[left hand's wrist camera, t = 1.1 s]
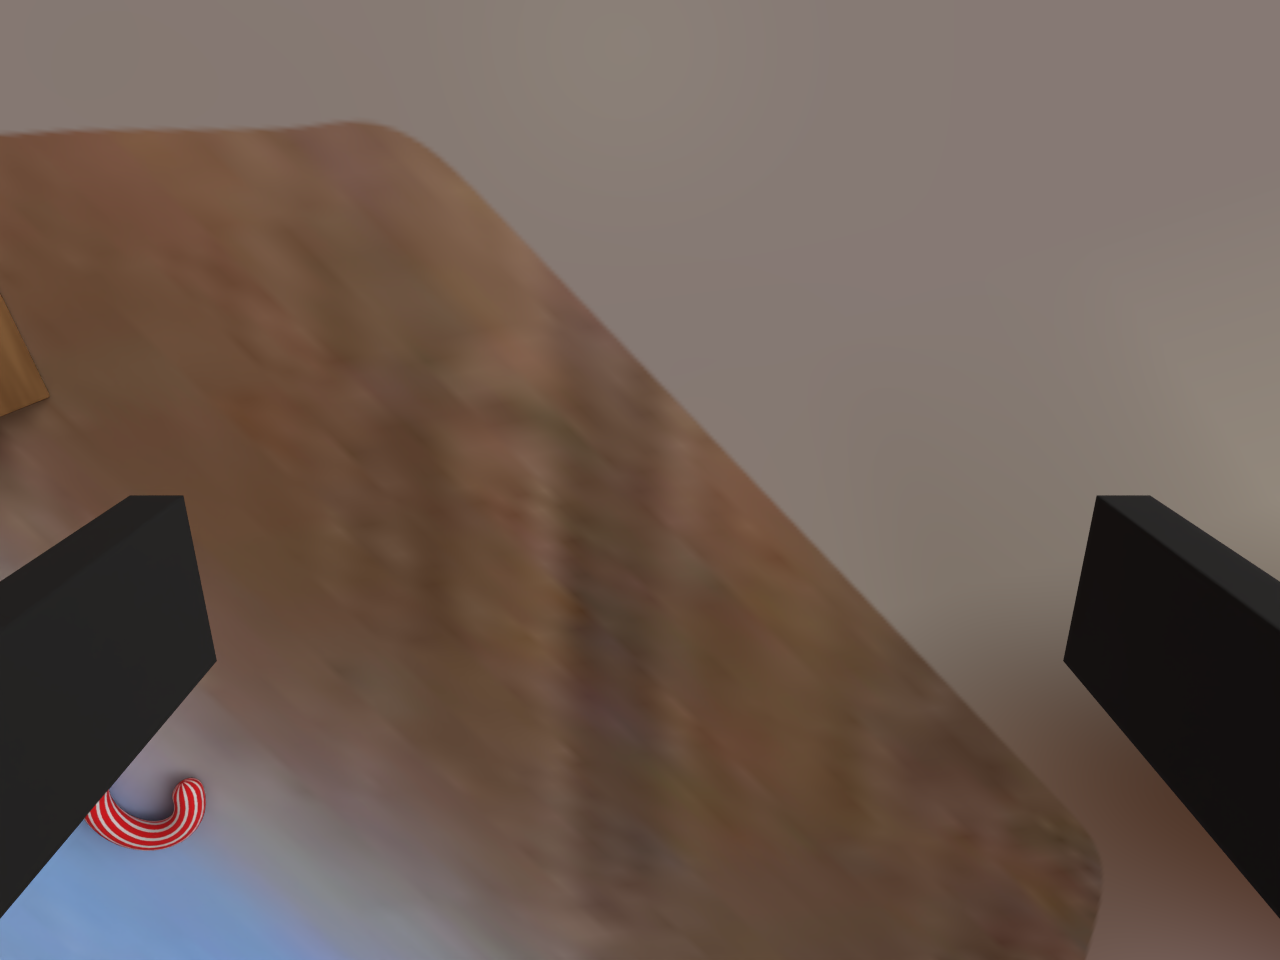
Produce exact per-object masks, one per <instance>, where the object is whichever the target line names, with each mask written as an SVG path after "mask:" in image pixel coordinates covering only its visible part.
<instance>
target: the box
mask: <svg viewBox="0 0 1280 960" xmlns="http://www.w3.org/2000/svg"><path fill="white" fill-rule="evenodd" d="M48 397H50V395H49V393H48V391H47V389H46V386H45V384H44V382H43V380H42V378H41V376H40V374H39V372H38V370H37V368H36V366H35V364H34V362H33V360H32V358H31V356H30V354H29V351H28V349H27V347H26V345H25V343H24V341H23V339H22V337H21V335H20V333H19V331H18V329H17V327H16V325H15V323H14V321H13V319H12V317H11V314H10V312H9V310H8V308H7V306H6V304H5V302H4V300H3V298H2V296H1V294H0V417H1V416H4V415H6V414H9V413H11V412H14V411H16V410H19V409H21V408H24V407H26V406H29V405H31V404H34V403H36V402H39V401H41V400H43V399H46V398H48Z"/></svg>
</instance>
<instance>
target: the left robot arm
mask: <svg viewBox="0 0 1280 960" xmlns="http://www.w3.org/2000/svg"><path fill="white" fill-rule="evenodd" d="M216 661H217V660H216V655H215V650H214V645H213V640H212V635H211V630H210V625H209V621H208V616H207V611H206V606H205V601H204V596H203V591H202V586H201V581H200V576H199V571H198V566H197V561H196V556H195V551H194V546H193V541H192V536H191V531H190V526H189V522H188V517H187V512H186V507H185V502H184V497H183V496H129V497H127V498H126V499H124V500H123V501H121V502H119V503H118V504H116V505H115V506H113V507H112V508H110V509H109V510H107V511H106V512H104V513H103V514H101V515H100V516H98V517H97V518H95V519H94V520H92V521H91V522H89V523H88V524H86V525H85V526H83V527H82V528H80V529H79V530H77V531H76V532H74V533H73V534H71V535H70V536H68V537H67V538H65V539H64V540H62V541H61V542H59V543H58V544H56V545H55V546H53V547H52V548H50V549H49V550H47V551H46V552H44V553H43V554H41V555H40V556H38V557H37V558H35V559H34V560H32V561H31V562H29V563H28V564H26V565H25V566H23V567H22V568H20V569H19V570H17V571H16V572H14V573H13V574H11V575H10V576H8V577H7V578H5V579H4V580H2V581H1V582H0V918H1V917H2V916H3V915H4V913H5V912H6V911H7V910H8V909H9V907H10V906H11V905H12V904H13V903H14V902H15V900H16V899H17V898H18V897H19V896H20V894H21V893H22V892H23V891H24V890H25V888H26V887H27V886H28V885H29V884H30V882H31V881H32V880H33V879H34V878H35V877H36V875H37V874H38V873H39V872H40V871H41V869H42V868H43V867H44V866H45V865H46V863H47V862H48V861H49V860H50V859H51V857H52V856H53V855H54V854H55V853H56V852H57V850H58V849H59V848H60V847H61V846H62V844H63V843H64V842H65V841H66V840H67V838H68V837H69V836H70V835H71V834H72V832H73V831H74V830H75V829H76V828H77V827H78V825H79V824H80V823H81V822H82V821H83V819H84V818H85V817H86V816H87V815H88V813H89V812H90V811H91V810H92V809H93V807H94V806H95V805H96V804H97V803H98V802H99V800H100V799H101V798H102V797H103V796H104V794H105V793H106V792H107V791H108V790H109V788H110V787H111V786H112V785H113V784H114V782H115V781H116V780H117V779H118V778H119V777H120V775H121V774H122V773H123V772H124V771H125V769H126V768H127V767H128V766H129V765H130V763H131V762H132V761H133V760H134V759H135V757H136V756H137V755H138V754H139V753H140V752H141V750H142V749H143V748H144V747H145V746H146V744H147V743H148V742H149V741H150V740H151V738H152V737H153V736H154V735H155V734H156V732H157V731H158V730H159V729H160V728H161V727H162V725H163V724H164V723H165V722H166V721H167V719H168V718H169V717H170V716H171V715H172V713H173V712H174V711H175V710H176V709H177V707H178V706H179V705H180V704H181V703H182V702H183V700H184V699H185V698H186V697H187V696H188V694H189V693H190V692H191V691H192V690H193V688H194V687H195V686H196V685H197V684H198V682H199V681H200V680H201V679H202V678H203V677H204V675H205V674H206V673H207V672H208V671H209V669H210V668H211V667H212V666H213V665H214V663H215V662H216ZM1063 661H1064V662H1065V663H1066V665H1067V666H1068V667H1069V668H1070V669H1071V671H1072V672H1073V673H1074V674H1075V675H1076V677H1077V678H1078V679H1079V680H1080V681H1081V682H1082V684H1083V685H1084V686H1085V687H1086V688H1087V690H1088V691H1089V692H1090V693H1091V694H1092V695H1093V697H1094V698H1095V699H1096V700H1097V702H1098V703H1099V704H1100V705H1101V706H1102V707H1103V709H1104V710H1105V711H1106V712H1107V713H1108V715H1109V716H1110V717H1111V718H1112V719H1113V721H1114V722H1115V723H1116V724H1117V725H1118V726H1119V728H1120V729H1121V730H1122V731H1123V732H1124V734H1125V735H1126V736H1127V737H1128V738H1129V740H1130V741H1131V742H1132V743H1133V744H1134V746H1135V747H1136V748H1137V749H1138V750H1139V752H1140V753H1141V754H1142V755H1143V756H1144V757H1145V759H1146V760H1147V761H1148V762H1149V763H1150V765H1151V766H1152V767H1153V768H1154V769H1155V771H1156V772H1157V773H1158V774H1159V775H1160V777H1161V778H1162V779H1163V780H1164V781H1165V782H1166V784H1167V785H1168V786H1169V787H1170V788H1171V790H1172V791H1173V792H1174V793H1175V794H1176V796H1177V797H1178V798H1179V799H1180V800H1181V802H1182V803H1183V804H1184V805H1185V806H1186V807H1187V809H1188V810H1189V811H1190V812H1191V813H1192V814H1193V816H1194V817H1195V818H1196V819H1197V821H1198V822H1199V823H1200V824H1201V825H1202V827H1203V828H1204V829H1205V830H1206V831H1207V832H1208V834H1209V835H1210V836H1211V837H1212V838H1213V840H1214V841H1215V842H1216V843H1217V844H1218V846H1219V847H1220V848H1221V849H1222V850H1223V852H1224V853H1225V854H1226V855H1227V856H1228V857H1229V859H1230V860H1231V861H1232V862H1233V863H1234V865H1235V866H1236V867H1237V868H1238V869H1239V871H1240V872H1241V873H1242V874H1243V875H1244V877H1245V878H1246V879H1247V880H1248V881H1249V882H1250V884H1251V885H1252V886H1253V887H1254V888H1255V890H1256V891H1257V892H1258V893H1259V894H1260V896H1261V897H1262V898H1263V899H1264V900H1265V901H1266V903H1267V904H1268V905H1269V906H1270V907H1271V909H1272V910H1273V911H1274V912H1275V913H1276V915H1277V916H1278V917H1279V918H1280V582H1279V581H1278V580H1276V579H1275V578H1273V577H1272V576H1270V575H1269V574H1267V573H1266V572H1264V571H1263V570H1261V569H1260V568H1258V567H1257V566H1255V565H1254V564H1252V563H1251V562H1249V561H1248V560H1246V559H1245V558H1243V557H1242V556H1240V555H1239V554H1237V553H1236V552H1234V551H1233V550H1231V549H1230V548H1228V547H1227V546H1225V545H1224V544H1222V543H1221V542H1219V541H1218V540H1216V539H1215V538H1213V537H1212V536H1210V535H1209V534H1207V533H1206V532H1204V531H1203V530H1201V529H1200V528H1198V527H1197V526H1195V525H1194V524H1192V523H1191V522H1189V521H1187V520H1186V519H1185V518H1183V517H1182V516H1180V515H1179V514H1177V513H1175V512H1174V511H1173V510H1171V509H1170V508H1168V507H1167V506H1165V505H1163V504H1162V503H1160V502H1159V501H1157V500H1156V499H1154V498H1153V497H1151V496H1097V497H1096V502H1095V507H1094V512H1093V517H1092V522H1091V527H1090V532H1089V536H1088V541H1087V546H1086V551H1085V556H1084V561H1083V566H1082V571H1081V576H1080V581H1079V586H1078V591H1077V596H1076V601H1075V606H1074V611H1073V616H1072V621H1071V626H1070V630H1069V636H1068V640H1067V645H1066V650H1065V655H1064V660H1063Z"/></svg>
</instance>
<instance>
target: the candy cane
mask: <svg viewBox="0 0 1280 960" xmlns="http://www.w3.org/2000/svg"><path fill="white" fill-rule="evenodd" d="M172 799H173V803H174V812H173V814H172V815H171V816H170V817H168V818H166V819H164V820H159V821H148V820H143V819H139V818H136V817H134V816H131V815H129V814H128V813H126V812H125V811H123V810H122V809H121V808H120V807H119V806H118V805H117V804H116V803H115V802H114V800H113V799H112V797H111V795H110V792H109V790H108V791H107V792H106V793H105V794H104V796H103V797H102V798H101V799H100V800H99V802H98V803H97V804H96V805H95V806H94V807H93V809H92V810H91V811H90V812H89V813H88V815H87V816H86V817H85V818H84V819H85V821H86V822H87V824H88V825H89V826H90V827H91V828H92V829H93V830H94V831H96V832H97V833H98V834H99V835H100V836H102V837H104V838H105V839H107V840H108V841H111V842H113V843H115V844H117V845H120V846H122V847H125V848H130V849H134V850H143V851H149V850H160V849H165V848H168V847H172V846H174V845H176V844H178V843H180V842H182V841H184V840H185V839H186V838H188V837H189V836H190V835H191V834H192V833H193V832H194V831H195V830H196V829H197V827H198V826H199V824H200V822H201V821H202V818H203V815H204V812H205V805H206V799H205V792H204V788H203V785H202V783H201V782H200V781H199V780H198V779H196V778H187V779H184V780H182V781H181V782H180V783H179V784H178V785H177V786H176V787H175V789H174V791H173V793H172Z"/></svg>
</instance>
